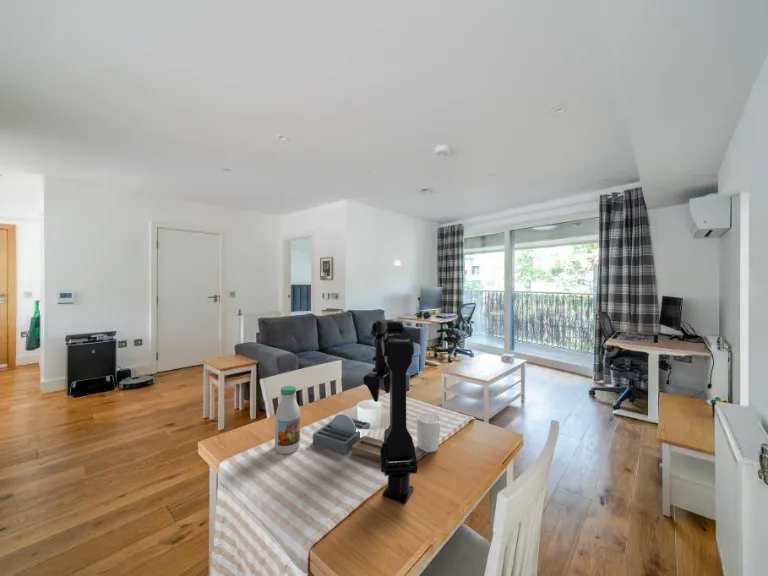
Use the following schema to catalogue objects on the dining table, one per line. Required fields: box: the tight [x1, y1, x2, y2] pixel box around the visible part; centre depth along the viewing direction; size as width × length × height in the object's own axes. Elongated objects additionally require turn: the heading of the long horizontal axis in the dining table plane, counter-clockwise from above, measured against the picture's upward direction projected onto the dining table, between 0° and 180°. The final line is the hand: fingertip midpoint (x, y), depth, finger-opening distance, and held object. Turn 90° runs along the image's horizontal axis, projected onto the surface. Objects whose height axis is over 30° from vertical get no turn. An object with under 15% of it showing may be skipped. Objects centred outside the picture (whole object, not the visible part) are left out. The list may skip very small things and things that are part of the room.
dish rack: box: [312, 417, 371, 455], centre depth 110 cm, size 16×13×4 cm
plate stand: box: [350, 435, 389, 465], centre depth 101 cm, size 8×12×2 cm, turn 64°
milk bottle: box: [274, 385, 301, 455], centre depth 102 cm, size 8×8×20 cm
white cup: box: [416, 412, 442, 453], centre depth 106 cm, size 8×8×10 cm
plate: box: [331, 413, 356, 435], centre depth 108 cm, size 1×9×9 cm, turn 64°
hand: (381, 397), depth 114 cm, fingers open, 9 cm apart
